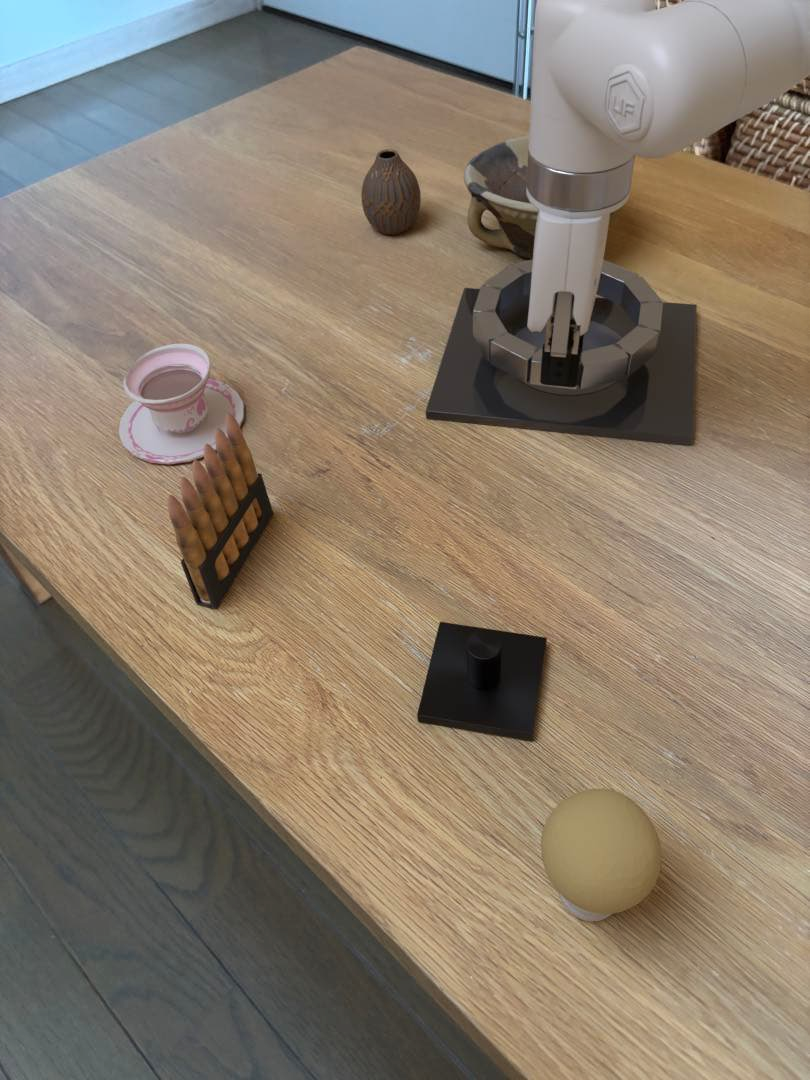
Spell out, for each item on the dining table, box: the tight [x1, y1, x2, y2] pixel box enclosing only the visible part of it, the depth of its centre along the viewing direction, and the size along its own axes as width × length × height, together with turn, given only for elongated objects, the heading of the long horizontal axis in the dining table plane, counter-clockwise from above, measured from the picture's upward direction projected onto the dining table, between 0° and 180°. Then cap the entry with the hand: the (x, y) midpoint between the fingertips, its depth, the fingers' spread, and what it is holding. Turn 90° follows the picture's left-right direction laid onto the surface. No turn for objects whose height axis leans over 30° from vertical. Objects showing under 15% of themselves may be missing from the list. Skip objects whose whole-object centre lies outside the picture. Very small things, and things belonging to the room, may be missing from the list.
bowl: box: [463, 134, 624, 260], centre depth 95 cm, size 18×18×10 cm
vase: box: [360, 148, 422, 236], centre depth 100 cm, size 7×7×9 cm
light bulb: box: [540, 787, 663, 922], centre depth 48 cm, size 6×6×10 cm
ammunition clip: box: [167, 413, 274, 610], centre depth 67 cm, size 11×2×12 cm, turn 160°
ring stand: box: [416, 621, 548, 742], centre depth 60 cm, size 8×8×5 cm
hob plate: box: [425, 287, 698, 447], centre depth 84 cm, size 24×20×1 cm
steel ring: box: [473, 259, 663, 390], centre depth 81 cm, size 17×17×3 cm
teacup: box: [118, 343, 245, 465], centre depth 80 cm, size 12×12×6 cm
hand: (560, 372), depth 76 cm, fingers closed on steel ring, 2 cm apart
